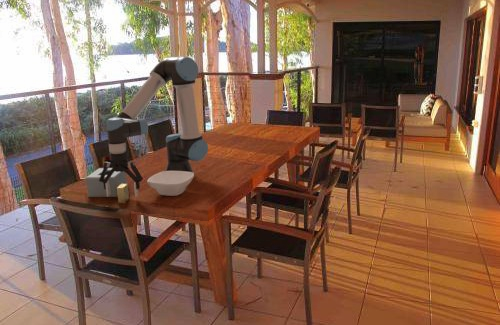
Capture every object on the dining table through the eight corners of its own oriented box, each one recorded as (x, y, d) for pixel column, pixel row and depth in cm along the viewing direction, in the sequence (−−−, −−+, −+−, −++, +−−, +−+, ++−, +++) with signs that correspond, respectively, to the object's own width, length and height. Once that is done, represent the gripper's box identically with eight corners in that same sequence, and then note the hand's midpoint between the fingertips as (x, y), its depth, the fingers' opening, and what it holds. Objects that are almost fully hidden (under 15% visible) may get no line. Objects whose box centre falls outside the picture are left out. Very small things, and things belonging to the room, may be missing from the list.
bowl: (163, 185, 229) (162, 169, 227) (200, 188, 223) (199, 171, 221) (143, 199, 210) (141, 182, 208) (182, 202, 204) (181, 184, 202)
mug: (117, 183, 236) (114, 161, 232) (101, 179, 243) (98, 158, 240) (131, 178, 243) (129, 157, 240) (115, 175, 251) (112, 154, 248)
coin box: (127, 186, 230) (125, 167, 227) (116, 196, 215) (113, 177, 212) (101, 186, 231) (99, 168, 229) (88, 196, 216) (85, 177, 213)
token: (129, 198, 211) (127, 183, 209) (124, 203, 205) (123, 187, 203) (123, 198, 211) (121, 183, 209) (118, 203, 206) (116, 187, 204)
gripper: (147, 149, 205) (150, 192, 210) (95, 150, 207) (100, 193, 212) (142, 153, 198) (146, 198, 203) (88, 154, 199) (93, 198, 205)
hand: (122, 195), depth 208 cm, fingers open, 13 cm apart
